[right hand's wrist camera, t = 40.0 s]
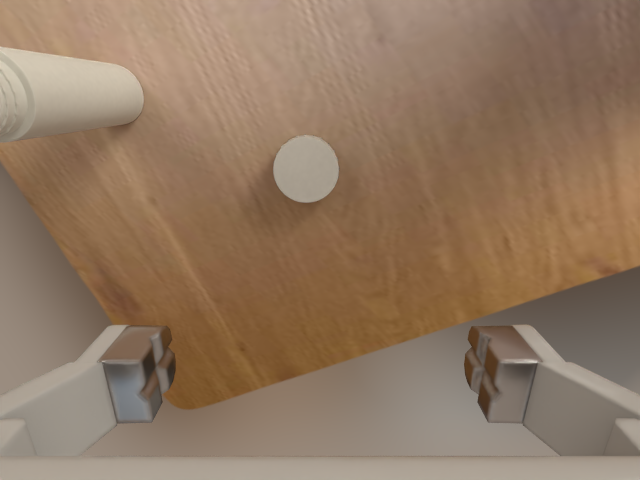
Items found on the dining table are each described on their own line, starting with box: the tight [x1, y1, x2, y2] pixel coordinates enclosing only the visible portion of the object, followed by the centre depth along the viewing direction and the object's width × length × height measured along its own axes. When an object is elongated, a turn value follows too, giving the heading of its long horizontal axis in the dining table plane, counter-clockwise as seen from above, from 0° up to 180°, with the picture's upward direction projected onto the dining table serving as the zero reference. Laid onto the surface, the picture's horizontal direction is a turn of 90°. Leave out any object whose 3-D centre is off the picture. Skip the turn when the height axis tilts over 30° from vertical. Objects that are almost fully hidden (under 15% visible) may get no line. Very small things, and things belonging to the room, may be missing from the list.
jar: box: [0, 47, 144, 142], centre depth 26 cm, size 5×5×15 cm
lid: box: [273, 134, 339, 203], centre depth 34 cm, size 6×6×2 cm
